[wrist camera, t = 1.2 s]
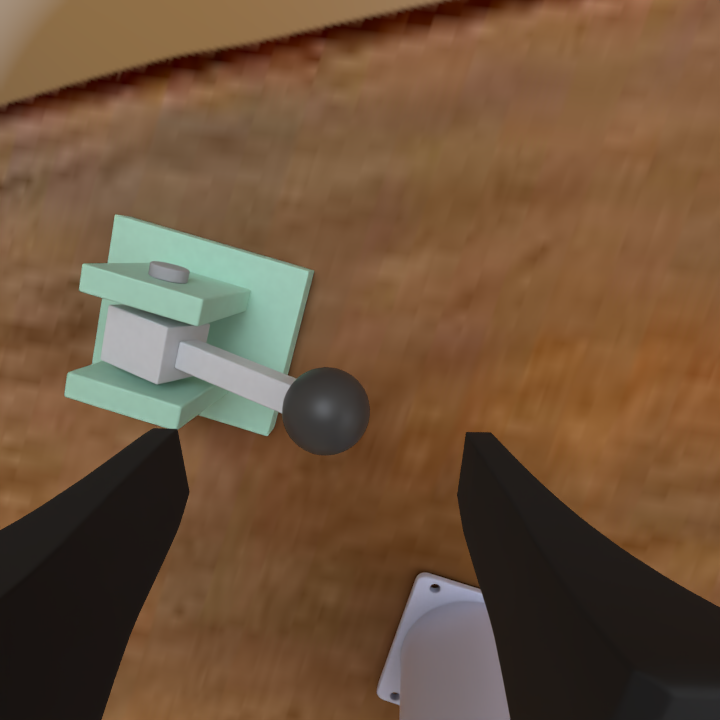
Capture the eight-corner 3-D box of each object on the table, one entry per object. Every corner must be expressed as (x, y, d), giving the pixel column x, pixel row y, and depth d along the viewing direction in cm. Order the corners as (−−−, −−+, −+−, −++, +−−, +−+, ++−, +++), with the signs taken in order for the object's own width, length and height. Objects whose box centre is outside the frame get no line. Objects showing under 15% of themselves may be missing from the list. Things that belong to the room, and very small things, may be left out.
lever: (391, 378, 17) (362, 394, 14) (367, 453, 18) (336, 482, 15) (163, 293, 20) (102, 293, 17) (150, 360, 21) (90, 370, 18)
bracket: (314, 270, 22) (278, 275, 16) (274, 428, 24) (227, 487, 17) (130, 216, 22) (23, 199, 16) (104, 375, 24) (-1, 416, 18)
